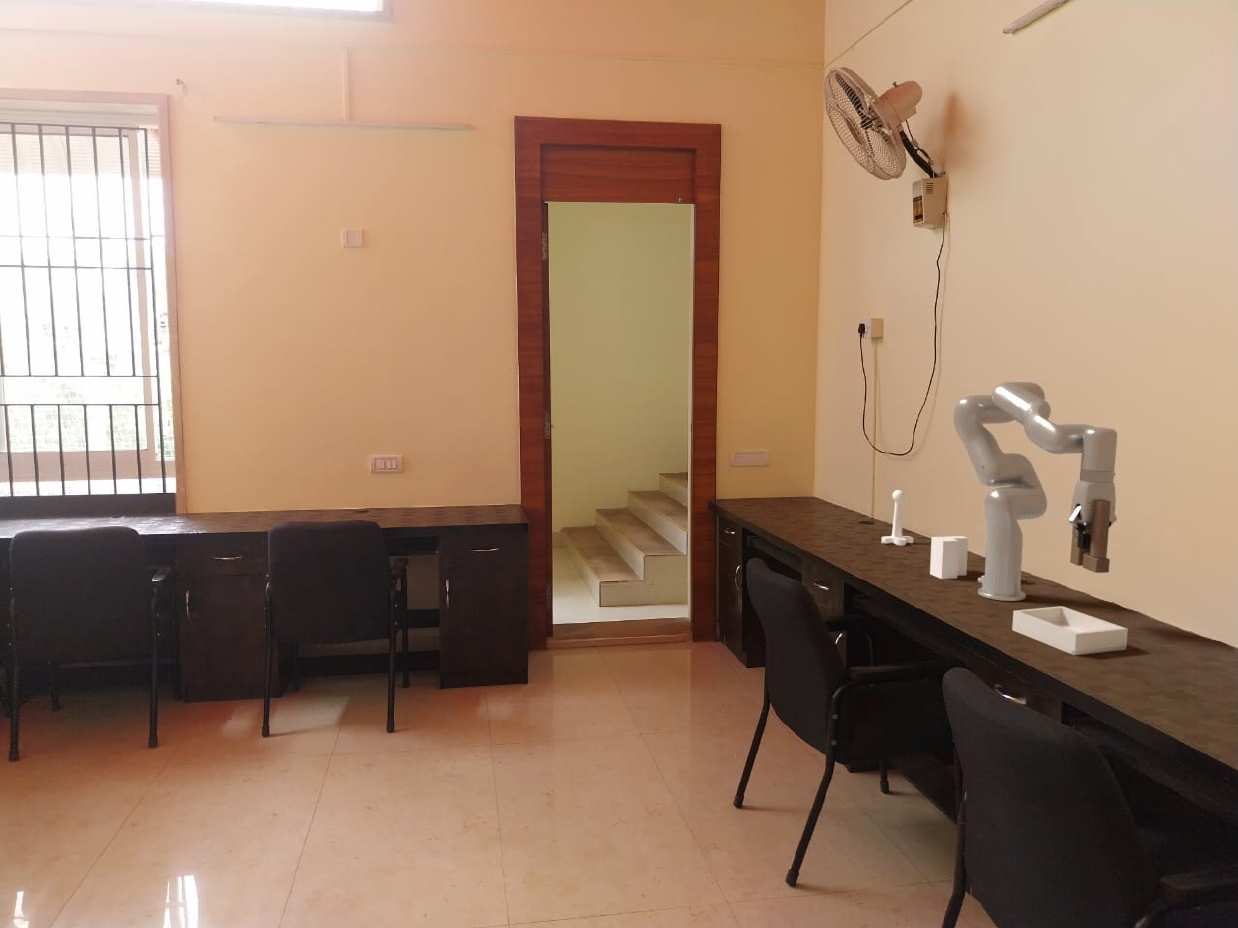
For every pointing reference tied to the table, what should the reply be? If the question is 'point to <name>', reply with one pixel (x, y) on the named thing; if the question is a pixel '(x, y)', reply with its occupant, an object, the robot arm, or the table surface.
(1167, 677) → the table surface
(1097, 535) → the brown rod with wedge
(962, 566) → the corner bracket
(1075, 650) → the tray
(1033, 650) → the table surface
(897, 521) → the joystick
